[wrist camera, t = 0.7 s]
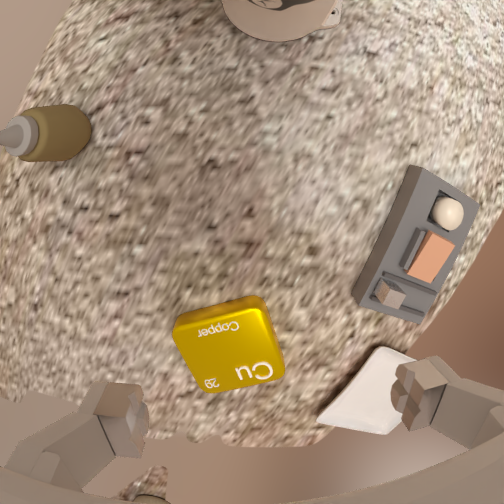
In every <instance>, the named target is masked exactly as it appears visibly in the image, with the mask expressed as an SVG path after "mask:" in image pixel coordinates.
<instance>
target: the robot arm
mask: <svg viewBox="0 0 504 504" xmlns="http://www.w3.org/2000/svg"><path fill="white" fill-rule="evenodd" d="M221 1H222V4H223V8H224V11H225V13H226V15H227V17H228V18H229V20H230V21H231V22H232V23H233V24H234V25H235V26H236V27H237V28H238V29H240V30H241V31H243V32H244V33H246V34H248V35H250V36H252V37H255V38H258V39H262V40H266V41H276V42H281V41H290V40H295V39H298V38H301V37H304V36H306V35H308V34H309V33H311V32H313V31H315V30H318V29H328V28H334V27H336V26H337V25H338V24H339V22H340V17H341V9H342V1H343V0H221ZM331 12H334V15H333V14H331ZM395 376H396V377H397V380H396V381H395V382H394V384H393V385H392V388H391V392H390V395H391V402H392V405H393V407H394V409H395V410H396V411H398V412H400V413H402V417H401V420H402V421H403V423H404V424H405V426H406V427H407V429H408V431H413V430H417V429H420V428H424V427H427V426H430V427H432V428H433V429H435V430H437V431H438V432H440V433H442V434H444V435H445V436H447V437H449V438H450V439H452V440H454V441H456V442H457V443H459V444H461V445H463V446H464V447H466V448H468V449H469V450H468V451H466V452H464V453H462V454H460V455H458V456H455V457H453V458H451V459H449V460H446V461H444V462H441V463H439V464H436V465H434V466H431V467H429V468H426V469H424V470H421V471H418V472H415V473H413V474H410V475H407V476H404V477H401V478H398V479H395V480H392V481H388V482H385V483H382V484H378V485H375V486H371V487H367V488H363V489H360V490H355V491H351V492H347V493H342V494H338V495H333V496H328V497H322V498H316V499H310V500H304V501H297V502H290V503H281V504H504V391H502V390H499V389H496V388H493V387H490V386H487V385H484V384H481V383H478V382H474V381H472V380H469V379H466V378H464V379H461V378H460V377H459V376H458V375H457V374H456V373H455V372H454V371H453V370H452V369H451V368H450V367H449V366H448V365H447V364H446V363H445V362H444V361H443V360H442V359H441V358H440V357H439V356H431V357H428V358H424V359H421V360H417V361H413V362H408V363H404V364H399V365H398V367H397V369H396V372H395ZM143 396H144V394H143V391H142V388H141V386H140V385H138V384H125V383H114V382H110V383H109V382H101V381H95V382H93V383H92V385H91V387H90V389H89V391H88V392H87V394H86V396H85V398H84V400H83V402H82V404H81V405H80V407H79V409H78V411H77V412H72V413H70V414H69V415H67V416H65V417H63V418H61V419H60V420H58V421H56V422H54V423H53V424H51V425H49V426H47V427H45V428H44V429H42V430H40V431H38V432H37V433H35V434H33V435H31V436H29V437H27V438H26V439H24V440H22V441H20V442H19V443H18V445H17V446H16V448H15V450H14V451H13V453H12V455H11V457H10V458H9V460H8V462H7V464H6V465H5V467H4V468H3V467H1V466H0V504H147V503H138V502H131V501H124V500H118V499H112V498H106V497H101V496H96V495H91V494H87V493H84V492H83V491H82V488H83V487H84V486H85V485H86V484H87V483H88V482H90V481H91V480H92V479H93V478H94V477H95V476H96V475H97V474H98V473H99V472H100V471H101V470H102V469H103V468H104V467H106V466H107V465H108V464H109V463H110V462H111V461H112V460H113V459H114V458H115V456H120V457H131V458H141V457H142V453H143V449H144V445H145V442H144V439H143V436H144V435H145V434H147V433H148V428H149V413H148V408H147V405H146V404H145V403H144V402H142V399H143Z"/></svg>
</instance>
